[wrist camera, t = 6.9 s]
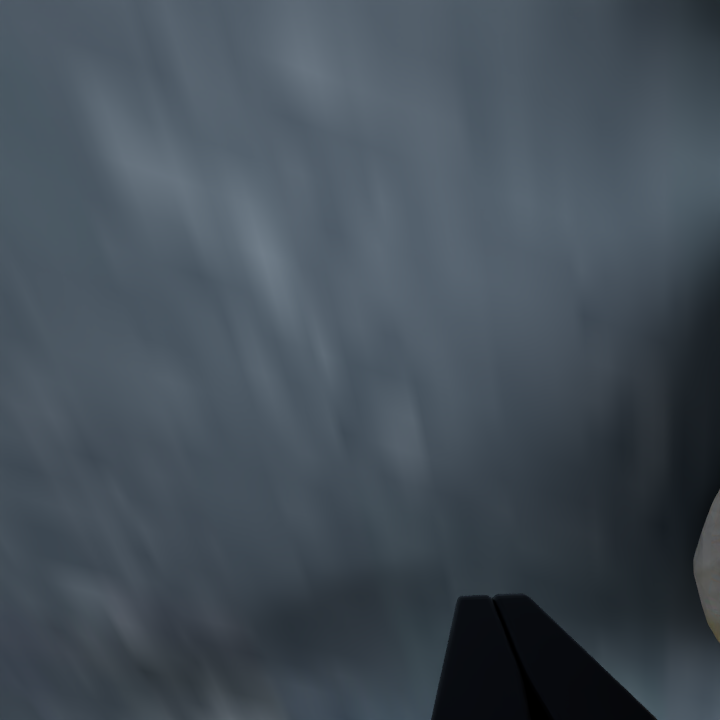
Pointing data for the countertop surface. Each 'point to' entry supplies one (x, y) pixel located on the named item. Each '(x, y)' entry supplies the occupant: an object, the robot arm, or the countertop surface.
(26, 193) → the countertop surface
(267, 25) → the countertop surface
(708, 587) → the pastry
